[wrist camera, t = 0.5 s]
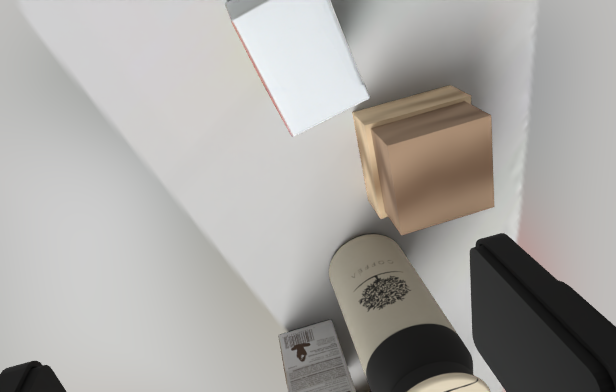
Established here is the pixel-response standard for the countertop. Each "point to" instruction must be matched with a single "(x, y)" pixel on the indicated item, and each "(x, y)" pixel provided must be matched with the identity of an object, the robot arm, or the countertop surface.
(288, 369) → the coffee box
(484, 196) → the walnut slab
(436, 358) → the travel mug
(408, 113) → the oak slab
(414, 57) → the countertop surface
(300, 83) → the small box
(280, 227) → the countertop surface
